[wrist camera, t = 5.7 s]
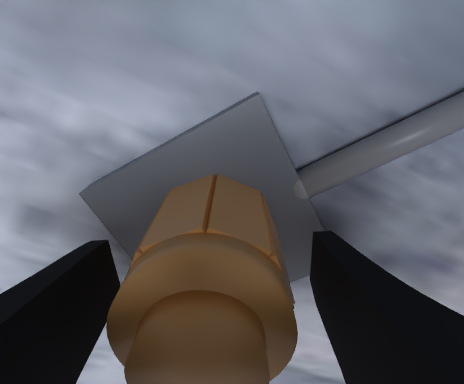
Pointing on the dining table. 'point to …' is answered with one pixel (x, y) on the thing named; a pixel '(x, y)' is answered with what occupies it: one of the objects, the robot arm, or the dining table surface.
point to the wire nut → (206, 292)
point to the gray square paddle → (256, 171)
